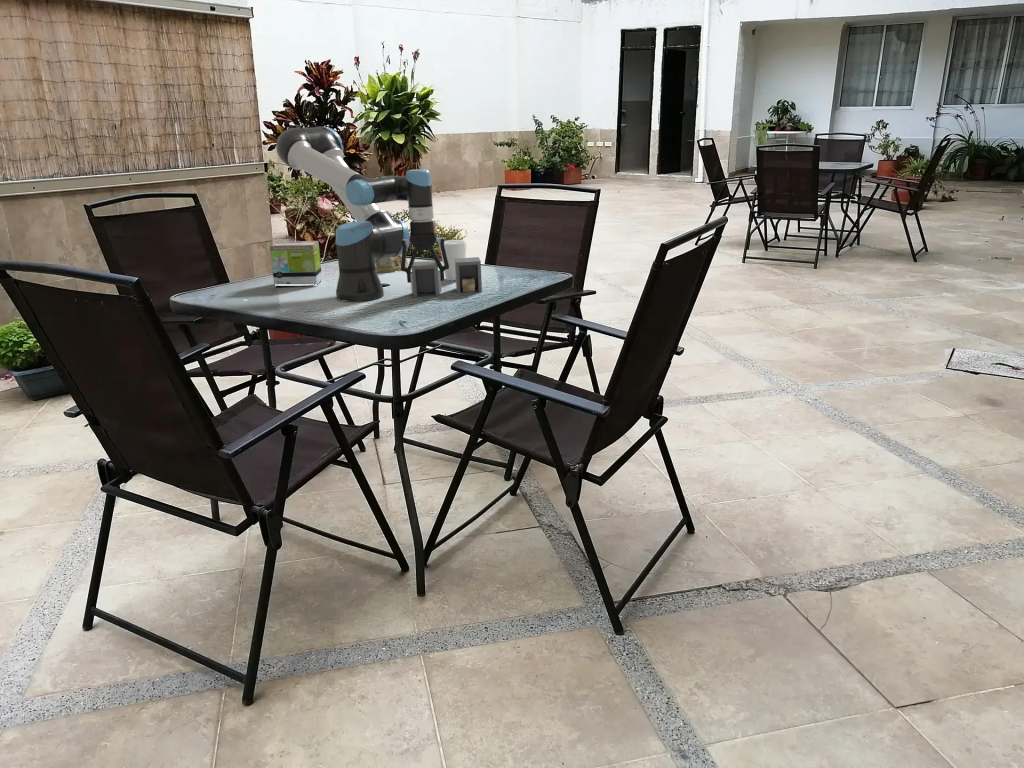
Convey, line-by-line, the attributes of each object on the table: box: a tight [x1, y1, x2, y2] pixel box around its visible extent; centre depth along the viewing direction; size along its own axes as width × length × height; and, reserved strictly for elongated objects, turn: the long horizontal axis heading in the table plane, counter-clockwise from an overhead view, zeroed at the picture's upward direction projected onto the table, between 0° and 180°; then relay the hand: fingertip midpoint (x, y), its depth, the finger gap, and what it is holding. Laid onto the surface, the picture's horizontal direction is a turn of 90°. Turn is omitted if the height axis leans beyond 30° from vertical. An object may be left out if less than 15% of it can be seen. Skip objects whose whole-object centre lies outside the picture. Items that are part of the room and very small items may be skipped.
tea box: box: [269, 240, 323, 285], centre depth 273 cm, size 15×10×15 cm, turn 92°
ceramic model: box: [375, 254, 409, 273], centre depth 296 cm, size 14×11×10 cm
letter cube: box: [462, 277, 476, 292], centre depth 256 cm, size 4×4×4 cm
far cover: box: [455, 256, 483, 294], centre depth 255 cm, size 8×8×10 cm
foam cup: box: [439, 239, 468, 282], centre depth 273 cm, size 10×9×13 cm
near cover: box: [411, 260, 440, 298], centre depth 251 cm, size 8×8×10 cm
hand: (426, 291), depth 252 cm, fingers closed on near cover, 8 cm apart
